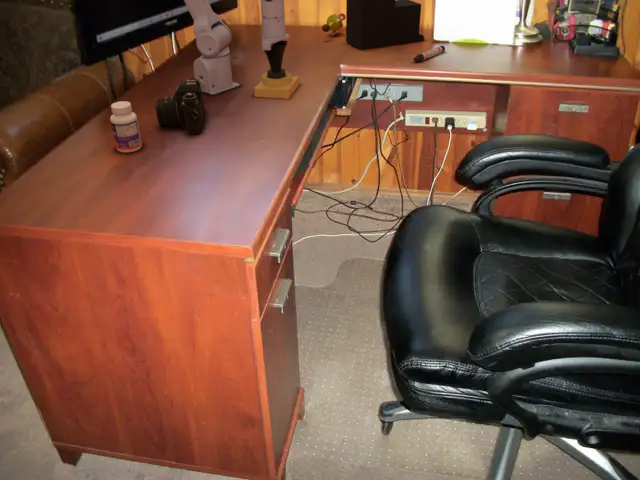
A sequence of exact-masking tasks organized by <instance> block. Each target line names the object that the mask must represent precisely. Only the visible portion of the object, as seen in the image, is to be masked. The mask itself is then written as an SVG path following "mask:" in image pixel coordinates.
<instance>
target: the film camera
mask: <svg viewBox="0 0 640 480" xmlns="http://www.w3.org/2000/svg"><path fill="white" fill-rule="evenodd" d="M203 97H204V96H203V92H202V91H201V87H200V83H199V80H197V79H195V77H190V78H189V79H186V80H184V81H180V82H179V83H178V85H177V86H176V89H175V91H174V95H169V96H162V97H161V98H159V97H157V98H155V101H154V102H155V103H154V104H155V105H154V108H155V113H156V118H157V122H158V124H159V126H167V127H169V128H171V127H175V128H177V127H178V128H179V129H182V130H184V129H186V132H187V134H189V135H194V134H200V133H202V130H203V127H204V121H205V120H204V119H205V117H204V116H205V105H204V98H203Z"/></svg>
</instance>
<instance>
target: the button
mask: <svg viewBox="0 0 640 480" xmlns="http://www.w3.org/2000/svg"><path fill="white" fill-rule="evenodd" d="M285 72H286V69H284V68H281V71H280V72H272V71H271V68H270V69H268V70H267V71H266V73H267V74H268V78H271V79H279V78H284V77H286V76H285Z"/></svg>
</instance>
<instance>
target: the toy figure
mask: <svg viewBox="0 0 640 480" xmlns="http://www.w3.org/2000/svg"><path fill="white" fill-rule="evenodd" d="M343 21H346V14H344V13H343V12H341V13H339V14H336V13H333V14H330V15H329V16H328V17H327V19H326V23H325V24H322V27H321V28H322V31H323V32H324V33H328V32H329V31H332V32H331V34H332V35H331V36H332V37H336V36H338V35H339V33H337V31H339V30H340V29H341V28H342V27H344V23H343Z"/></svg>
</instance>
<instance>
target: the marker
mask: <svg viewBox="0 0 640 480" xmlns="http://www.w3.org/2000/svg"><path fill="white" fill-rule="evenodd" d="M445 51H446V47H445V45H440V46H437V47H434V48H430V49H429V50H427V51H424V52H422V53H419V54H417V55H416V56H415V57H414V58H413V62H418V63H419V62H422V61H425V60H427V59H430V58H432V57H434V56H437V55H440V54H442V53H444V52H445Z"/></svg>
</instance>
